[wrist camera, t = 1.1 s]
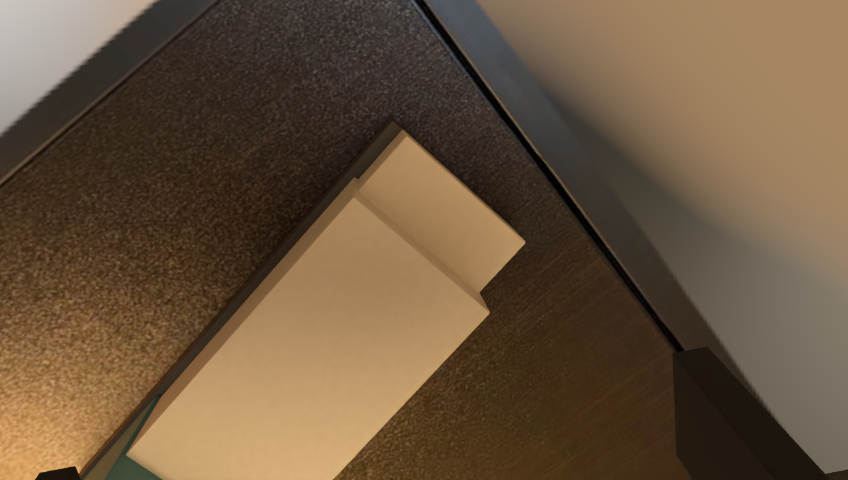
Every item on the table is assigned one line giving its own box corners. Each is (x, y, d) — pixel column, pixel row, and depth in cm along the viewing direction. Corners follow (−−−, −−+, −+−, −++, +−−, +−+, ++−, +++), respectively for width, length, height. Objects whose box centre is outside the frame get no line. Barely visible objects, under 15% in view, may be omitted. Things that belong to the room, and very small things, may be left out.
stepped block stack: (207, 552, 37) (159, 703, 28) (80, 470, 35) (-13, 604, 26) (511, 225, 34) (563, 279, 25) (390, 116, 32) (401, 134, 23)
